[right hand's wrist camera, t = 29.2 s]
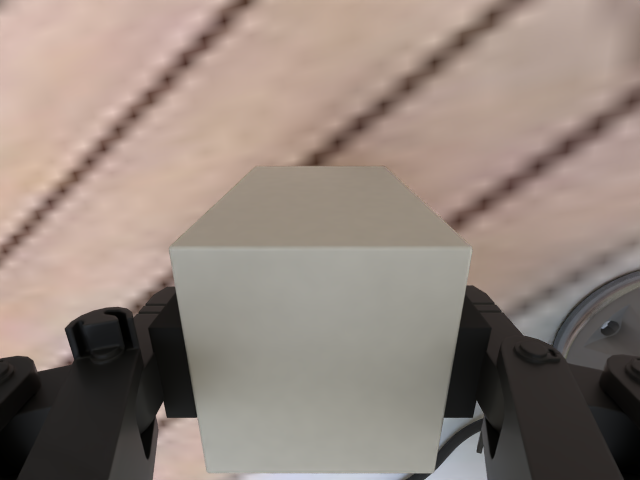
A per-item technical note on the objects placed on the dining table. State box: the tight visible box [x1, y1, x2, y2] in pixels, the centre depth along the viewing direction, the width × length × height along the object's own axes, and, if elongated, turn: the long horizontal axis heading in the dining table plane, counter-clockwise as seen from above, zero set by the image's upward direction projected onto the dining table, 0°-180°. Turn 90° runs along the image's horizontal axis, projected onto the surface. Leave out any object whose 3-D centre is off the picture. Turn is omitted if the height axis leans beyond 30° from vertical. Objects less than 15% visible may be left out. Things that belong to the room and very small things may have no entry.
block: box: [169, 166, 472, 473], centre depth 13 cm, size 7×6×10 cm
